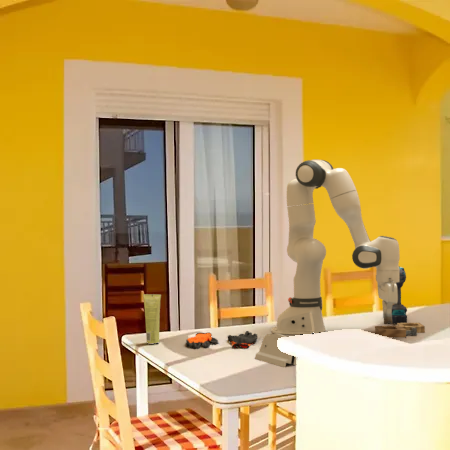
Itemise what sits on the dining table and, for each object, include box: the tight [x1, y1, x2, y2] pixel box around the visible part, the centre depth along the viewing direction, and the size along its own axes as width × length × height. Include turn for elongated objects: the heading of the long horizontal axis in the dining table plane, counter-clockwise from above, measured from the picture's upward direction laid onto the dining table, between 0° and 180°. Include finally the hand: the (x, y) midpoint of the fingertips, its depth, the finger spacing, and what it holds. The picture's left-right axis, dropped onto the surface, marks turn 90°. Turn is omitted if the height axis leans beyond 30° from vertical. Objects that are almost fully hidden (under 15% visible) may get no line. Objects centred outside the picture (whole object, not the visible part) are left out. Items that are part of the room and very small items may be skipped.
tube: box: [142, 293, 162, 343], centre depth 245 cm, size 6×5×20 cm
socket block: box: [374, 324, 407, 339], centre depth 245 cm, size 10×10×3 cm
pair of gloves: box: [185, 330, 258, 350], centre depth 243 cm, size 27×24×3 cm
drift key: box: [406, 327, 418, 336], centre depth 244 cm, size 9×4×3 cm, turn 86°
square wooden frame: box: [396, 322, 426, 334], centre depth 253 cm, size 9×9×2 cm
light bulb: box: [381, 300, 392, 325], centre depth 245 cm, size 3×3×9 cm
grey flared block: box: [254, 333, 297, 368], centre depth 208 cm, size 17×5×10 cm, turn 33°
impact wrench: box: [391, 265, 408, 325], centre depth 274 cm, size 8×23×25 cm, turn 174°
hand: (387, 312), depth 245 cm, fingers closed on light bulb, 3 cm apart
